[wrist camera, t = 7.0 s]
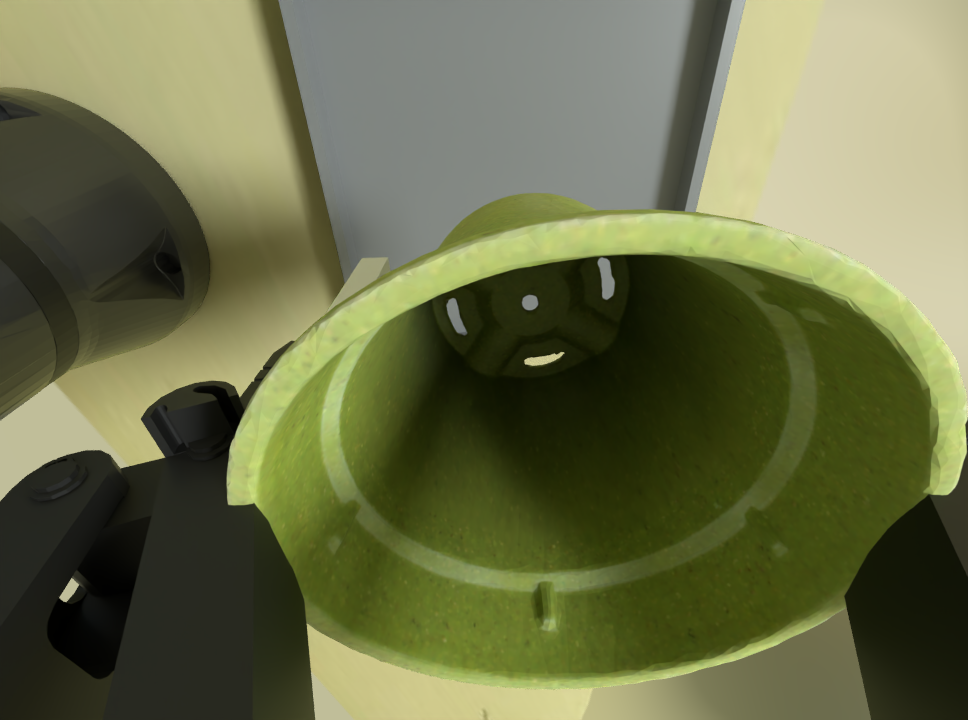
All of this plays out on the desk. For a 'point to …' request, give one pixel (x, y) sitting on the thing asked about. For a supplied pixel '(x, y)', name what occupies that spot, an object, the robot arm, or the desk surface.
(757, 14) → the desk surface
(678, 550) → the plant pot
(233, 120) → the desk surface
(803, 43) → the desk surface
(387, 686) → the desk surface
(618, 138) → the tray
